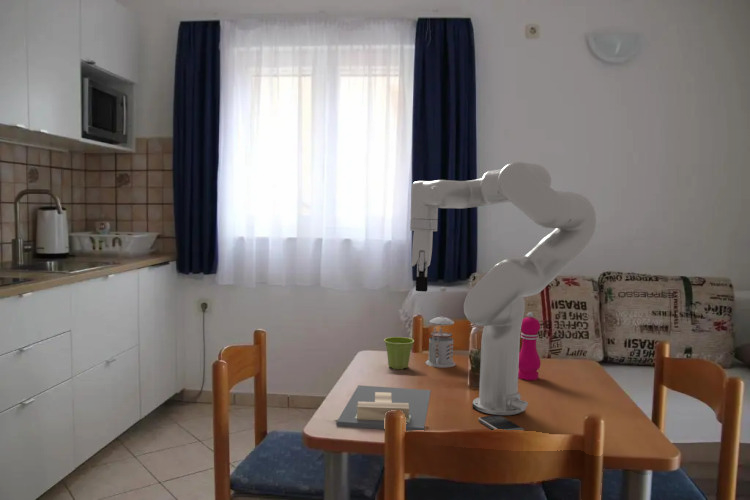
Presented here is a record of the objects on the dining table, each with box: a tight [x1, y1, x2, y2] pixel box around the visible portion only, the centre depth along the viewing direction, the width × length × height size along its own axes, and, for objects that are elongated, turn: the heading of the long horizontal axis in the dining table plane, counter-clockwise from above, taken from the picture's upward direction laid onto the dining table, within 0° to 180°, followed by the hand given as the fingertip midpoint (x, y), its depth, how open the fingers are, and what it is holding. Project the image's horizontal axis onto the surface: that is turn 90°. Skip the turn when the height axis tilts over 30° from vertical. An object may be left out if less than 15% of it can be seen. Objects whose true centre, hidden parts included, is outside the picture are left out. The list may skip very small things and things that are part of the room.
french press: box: [425, 286, 456, 368], centre depth 205 cm, size 10×12×25 cm
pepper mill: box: [518, 311, 541, 381], centre depth 191 cm, size 7×7×20 cm
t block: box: [357, 392, 409, 421], centre depth 153 cm, size 12×12×3 cm
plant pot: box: [383, 336, 415, 370], centre depth 200 cm, size 9×9×9 cm
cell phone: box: [478, 414, 525, 431], centre depth 148 cm, size 6×11×1 cm, turn 22°
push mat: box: [336, 384, 431, 431], centre depth 159 cm, size 30×20×1 cm, turn 172°
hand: (421, 290), depth 178 cm, fingers closed
